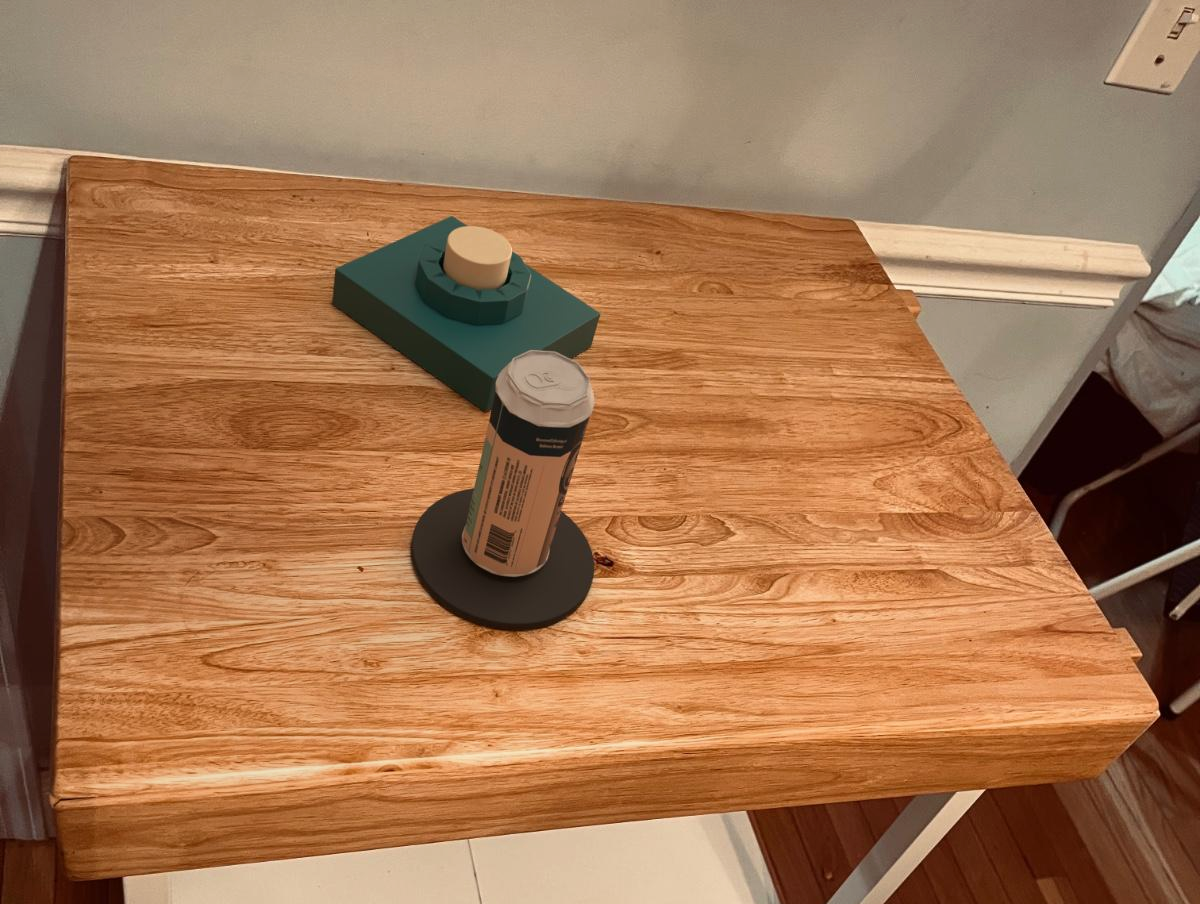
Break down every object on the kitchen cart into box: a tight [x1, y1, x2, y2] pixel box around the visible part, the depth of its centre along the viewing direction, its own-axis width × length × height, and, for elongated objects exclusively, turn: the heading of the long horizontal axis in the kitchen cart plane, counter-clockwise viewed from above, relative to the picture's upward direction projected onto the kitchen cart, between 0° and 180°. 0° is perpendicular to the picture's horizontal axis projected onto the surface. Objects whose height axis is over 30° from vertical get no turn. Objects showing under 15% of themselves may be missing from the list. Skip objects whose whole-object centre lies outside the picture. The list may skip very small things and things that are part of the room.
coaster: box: [410, 487, 596, 631], centre depth 64 cm, size 10×10×1 cm
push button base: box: [331, 215, 601, 413], centre depth 76 cm, size 13×11×4 cm
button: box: [443, 225, 513, 290], centre depth 74 cm, size 4×4×2 cm
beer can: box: [462, 350, 596, 577], centre depth 60 cm, size 5×5×12 cm
